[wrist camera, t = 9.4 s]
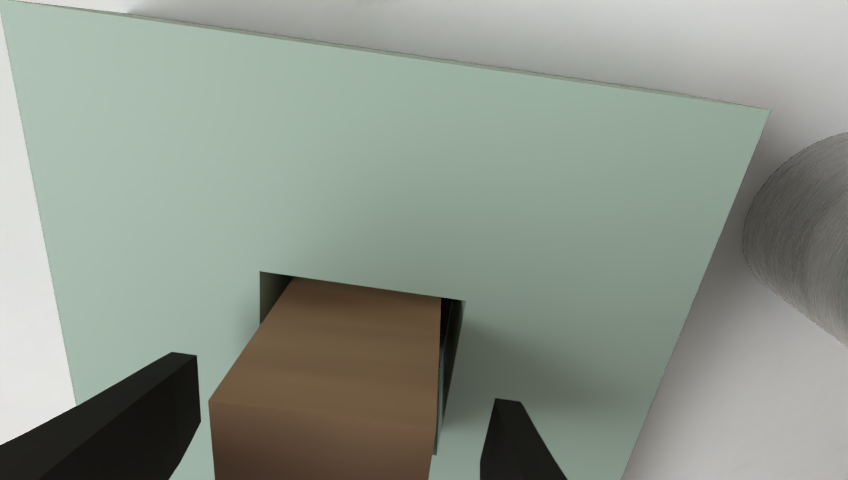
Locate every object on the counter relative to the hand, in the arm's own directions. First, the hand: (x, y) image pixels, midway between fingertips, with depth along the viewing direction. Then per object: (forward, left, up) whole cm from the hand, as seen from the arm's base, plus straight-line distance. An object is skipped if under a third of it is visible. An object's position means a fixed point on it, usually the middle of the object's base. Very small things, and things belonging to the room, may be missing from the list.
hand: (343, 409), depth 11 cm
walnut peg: (0, 0, -6) cm, 6 cm away
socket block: (0, 0, -6) cm, 6 cm away
